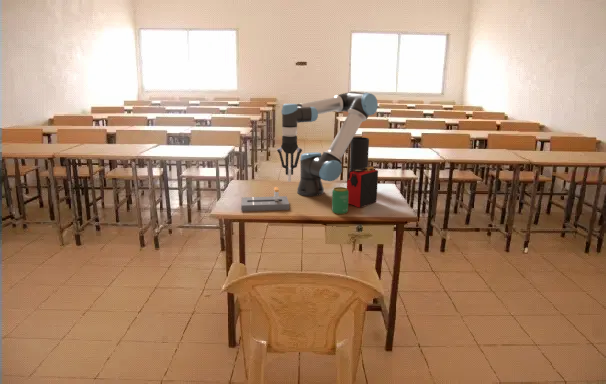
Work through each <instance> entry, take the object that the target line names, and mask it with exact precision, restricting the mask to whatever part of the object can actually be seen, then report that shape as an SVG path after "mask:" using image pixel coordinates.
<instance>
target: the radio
mask: <svg viewBox="0 0 606 384" xmlns="http://www.w3.org/2000/svg"><path fill="white" fill-rule="evenodd" d="M347 178H348V179H347V181H346V188H347V190H348V192H349V194H348V205H352V206H355V207H356V208H359V209H360V208H363V207H366V206H368V205H372V204H374V203H377V197H378V181H379V169H376V168H374V166H369V167H365V168H359V169H353V171H350V170H349V171H348V174H347Z"/></svg>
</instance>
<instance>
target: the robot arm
mask: <svg viewBox="0 0 606 384" xmlns="http://www.w3.org/2000/svg"><path fill="white" fill-rule="evenodd" d="M378 107H379V105H378V99H377V97H376V96H375V94H373V93H371V92H362V91H361V92H360V91H348V92H343V93H341V94H339V93H338V94H335V95H333V97H328V98H323V99H317V100H312V101H307V102H306V101H305V102H301V103H300V102H299V103H283V105H282V108H281V120H282V121H281V131H282V132H281V133H282V135H281V145H280V146H281V147H279V148H276V151H277V153H278V156H279V159H280V162H281V166H282V168H283V169H285V175H286V176H287V182H292V175H294V169H296V168H298V164H299V162H300V166H299V167H300V180H299V183H298V186H297V189H296V190H297V191H296V192H297V194H298V195H301V196H305V197H306V196H307V197H316V196H317V197H318V196H321V195H323V194H324V192H325V191H324V190H325V189H324V186H323V183H322V181H325V182H333V181H336V180H338V178H339V177H340V176H341V174H342V171H343V170H342V169H343V166H342V164H343V160H342V158H343V156H344V154H345V153H346V152H347V149H348V147H349V146H350V145H351V140H352V139H353V138H354V137H355V135H356V133H357V131H358V130H359V128H360V126H361V125H362V122H365V121H367V120H368V118H369V116H372V115H373V116H374V114H376V112H377V110H378ZM332 112H337V113H341V112H343V113H344V112H346V113H348V114H347V116H346V117H345V119H344V121H343V122H342V125H341V126H340V128H339V130H338V132H337V133H336V136H335V137H334V139H333V141H332V143H331V144H330V146H329V148H328V149H327V150H325V151H323V152H322V153H321V152H320V151H319V152H305V153H302V152H303V149H302V148H301V147H299V146H298V145H299V144H298V136H297V135H298V123H312V122H316V121H317V120H318V118H319V115H322V114H326V113H332ZM282 151H283V152H284V153H285V163H284V158H283V154H282ZM296 152H297V153H296ZM294 153H296V157H295V159H294ZM301 153H302V154H301ZM289 155H290V167H289Z"/></svg>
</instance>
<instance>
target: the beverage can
mask: <svg viewBox="0 0 606 384" xmlns="http://www.w3.org/2000/svg"><path fill="white" fill-rule="evenodd" d="M331 192H332V193H331V194H332V196H331V211H332V213H333V214H335V213H336V214H335V215H345V214H347V213H348V211H349V202H348V194H349V192H348V190H347V187H342V186H337V187H334V188H333V190H332V191H331Z"/></svg>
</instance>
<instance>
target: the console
mask: <svg viewBox="0 0 606 384" xmlns="http://www.w3.org/2000/svg"><path fill="white" fill-rule="evenodd" d="M240 205H241V209H240V210H241V212H255V211H256V212H260V211H263V212H264V211H289V210H290V202H289V199H288V196H286V195H283V196H281V195H279V201H274V196H247V197H245V196H244V197H243V196H242V197H241V204H240Z"/></svg>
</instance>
